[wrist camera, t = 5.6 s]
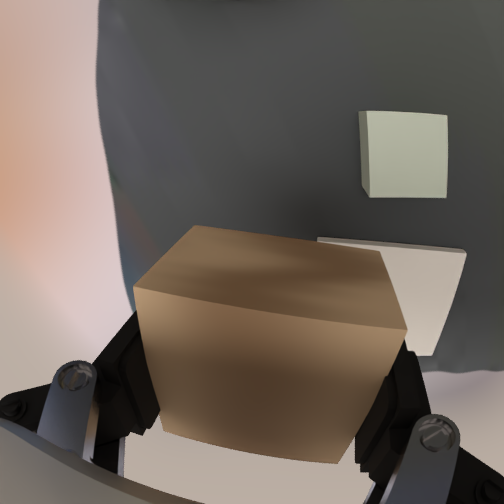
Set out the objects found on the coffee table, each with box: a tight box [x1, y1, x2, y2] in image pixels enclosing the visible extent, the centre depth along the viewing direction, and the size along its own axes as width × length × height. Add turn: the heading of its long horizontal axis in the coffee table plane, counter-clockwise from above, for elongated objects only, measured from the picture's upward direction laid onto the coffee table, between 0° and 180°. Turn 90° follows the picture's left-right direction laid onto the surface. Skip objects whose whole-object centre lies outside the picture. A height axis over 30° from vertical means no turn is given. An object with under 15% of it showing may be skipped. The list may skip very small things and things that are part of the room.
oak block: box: [133, 225, 408, 464], centre depth 9 cm, size 6×6×4 cm
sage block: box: [358, 111, 448, 198], centre depth 21 cm, size 6×6×4 cm
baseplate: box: [317, 237, 467, 356], centre depth 27 cm, size 14×12×1 cm
